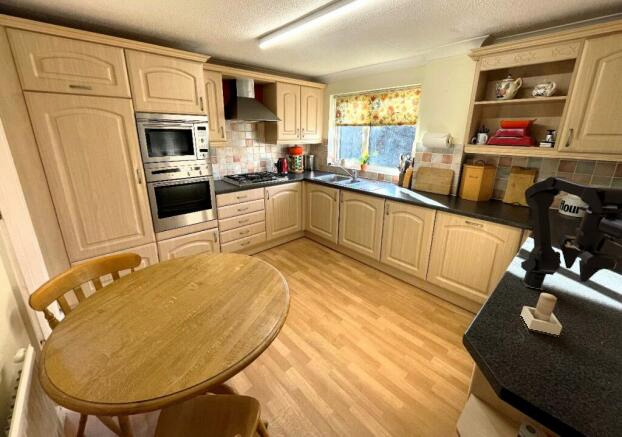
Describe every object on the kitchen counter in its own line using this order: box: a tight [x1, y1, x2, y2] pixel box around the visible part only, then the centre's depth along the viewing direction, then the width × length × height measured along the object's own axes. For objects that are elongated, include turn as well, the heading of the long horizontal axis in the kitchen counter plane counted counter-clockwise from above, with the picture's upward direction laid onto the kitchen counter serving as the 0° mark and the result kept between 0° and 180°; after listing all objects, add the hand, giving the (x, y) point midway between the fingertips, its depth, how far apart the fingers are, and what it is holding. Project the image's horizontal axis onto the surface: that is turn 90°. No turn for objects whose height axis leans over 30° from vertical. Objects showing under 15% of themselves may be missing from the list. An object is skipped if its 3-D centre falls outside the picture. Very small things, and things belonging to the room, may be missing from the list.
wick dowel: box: [533, 292, 558, 322], centre depth 78 cm, size 4×4×10 cm
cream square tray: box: [520, 305, 563, 336], centre depth 79 cm, size 7×7×4 cm
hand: (575, 274), depth 84 cm, fingers open, 9 cm apart
